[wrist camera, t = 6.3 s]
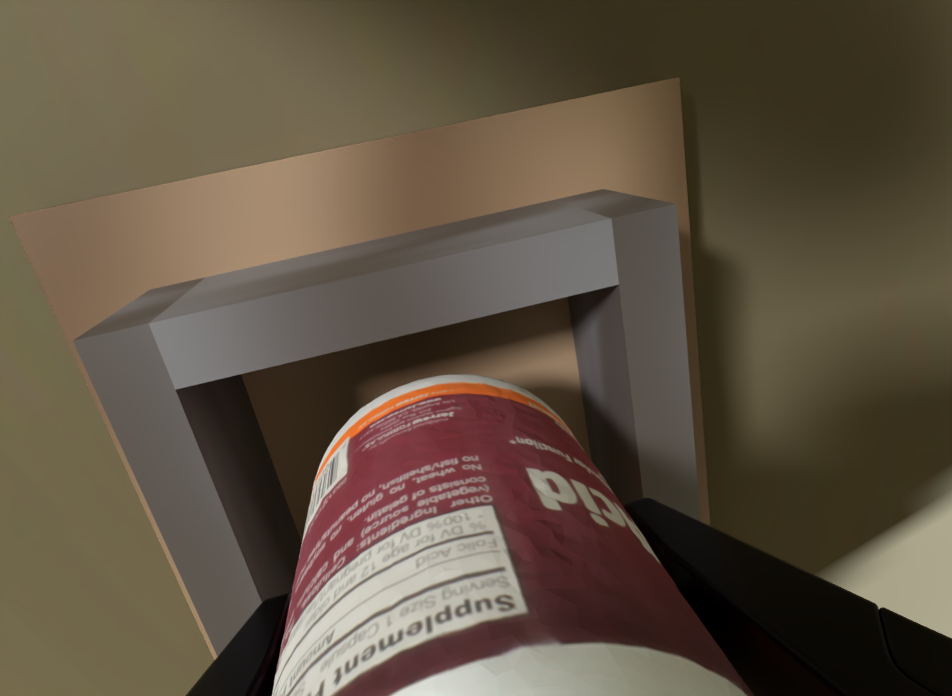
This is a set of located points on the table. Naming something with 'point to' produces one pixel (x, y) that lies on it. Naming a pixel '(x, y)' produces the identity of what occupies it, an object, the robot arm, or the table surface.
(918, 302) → the table surface
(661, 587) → the pill bottle
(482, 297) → the bottle holder
